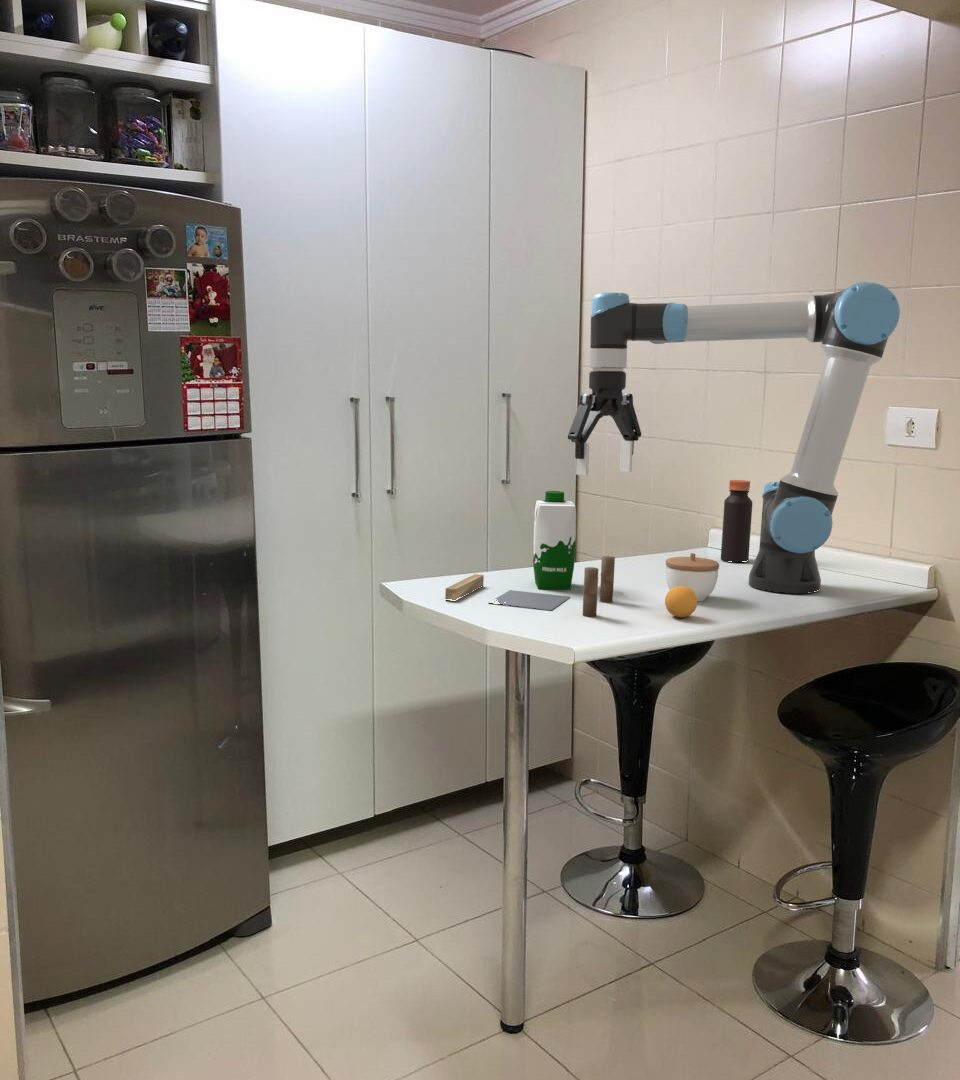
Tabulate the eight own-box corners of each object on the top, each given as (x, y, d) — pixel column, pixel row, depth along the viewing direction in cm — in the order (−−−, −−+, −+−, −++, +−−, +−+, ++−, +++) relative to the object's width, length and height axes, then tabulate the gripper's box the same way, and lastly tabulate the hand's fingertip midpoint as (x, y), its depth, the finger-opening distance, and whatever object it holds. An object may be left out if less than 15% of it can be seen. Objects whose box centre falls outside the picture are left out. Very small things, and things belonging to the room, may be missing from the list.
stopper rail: (483, 586, 216) (483, 574, 215) (454, 601, 201) (454, 589, 200) (474, 585, 216) (474, 574, 216) (445, 600, 201) (445, 588, 201)
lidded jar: (716, 594, 214) (719, 550, 212) (717, 606, 203) (720, 559, 202) (664, 591, 216) (667, 547, 214) (662, 602, 206) (665, 556, 204)
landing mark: (570, 597, 207) (570, 596, 207) (551, 610, 195) (551, 609, 195) (510, 590, 212) (510, 590, 212) (488, 603, 200) (488, 602, 200)
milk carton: (570, 582, 223) (574, 491, 219) (575, 591, 214) (579, 496, 210) (530, 581, 222) (533, 490, 219) (533, 590, 213) (537, 495, 210)
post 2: (614, 600, 206) (616, 556, 204) (611, 603, 203) (613, 558, 202) (601, 599, 206) (603, 555, 205) (598, 601, 204) (600, 557, 203)
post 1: (597, 614, 193) (600, 568, 192) (594, 617, 191) (596, 570, 190) (584, 613, 194) (586, 566, 193) (581, 615, 192) (583, 569, 190)
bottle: (754, 562, 252) (760, 481, 249) (734, 564, 248) (740, 482, 245) (734, 557, 258) (739, 478, 254) (714, 559, 254) (719, 479, 251)
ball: (698, 615, 195) (700, 584, 194) (693, 622, 189) (695, 590, 188) (667, 611, 197) (669, 581, 196) (661, 618, 192) (663, 587, 190)
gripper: (633, 370, 220) (629, 468, 224) (552, 369, 204) (549, 474, 207) (660, 370, 215) (656, 471, 218) (579, 369, 198) (576, 478, 202)
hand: (604, 473), depth 213 cm, fingers open, 13 cm apart
